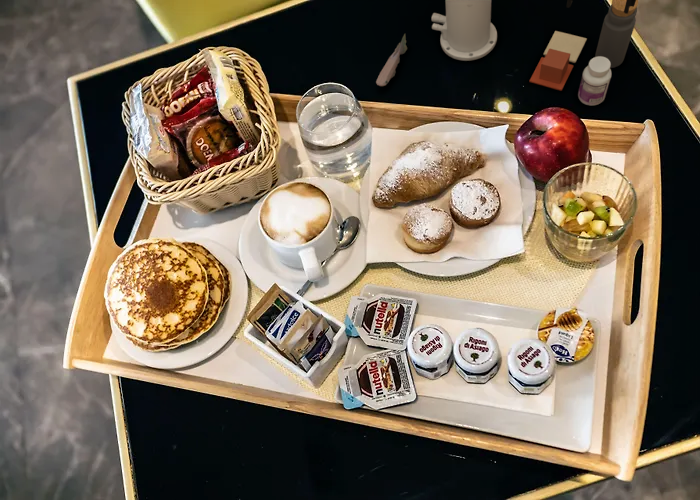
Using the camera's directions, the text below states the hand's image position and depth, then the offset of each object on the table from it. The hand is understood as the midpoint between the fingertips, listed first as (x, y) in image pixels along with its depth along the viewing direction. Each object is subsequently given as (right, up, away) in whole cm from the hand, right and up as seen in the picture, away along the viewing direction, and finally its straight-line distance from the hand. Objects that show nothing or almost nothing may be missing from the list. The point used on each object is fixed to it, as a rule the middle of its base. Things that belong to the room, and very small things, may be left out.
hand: (598, 4), depth 107 cm
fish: (-34, -3, +31) cm, 46 cm away
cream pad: (+3, +1, +25) cm, 25 cm away
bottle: (+11, -2, +22) cm, 25 cm away
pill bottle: (+6, -12, +19) cm, 23 cm away
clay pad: (-1, -6, +23) cm, 23 cm away
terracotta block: (0, -6, +22) cm, 23 cm away
